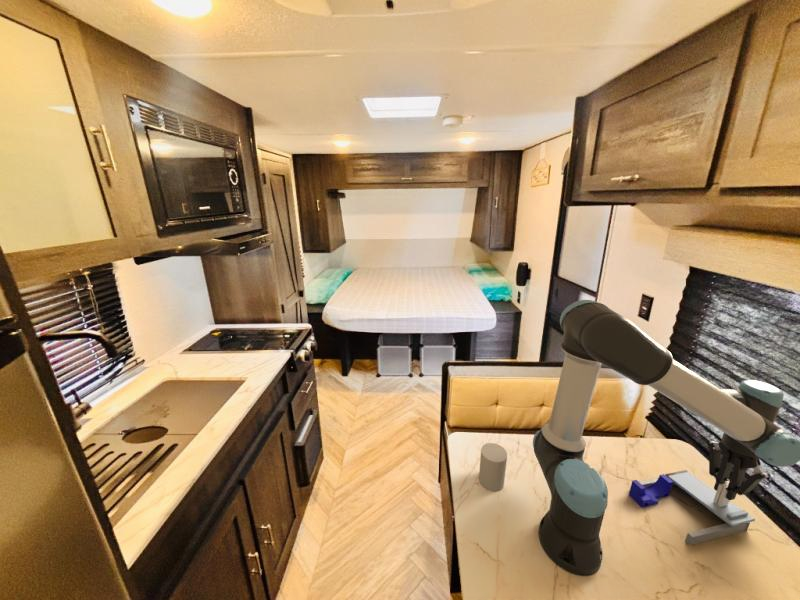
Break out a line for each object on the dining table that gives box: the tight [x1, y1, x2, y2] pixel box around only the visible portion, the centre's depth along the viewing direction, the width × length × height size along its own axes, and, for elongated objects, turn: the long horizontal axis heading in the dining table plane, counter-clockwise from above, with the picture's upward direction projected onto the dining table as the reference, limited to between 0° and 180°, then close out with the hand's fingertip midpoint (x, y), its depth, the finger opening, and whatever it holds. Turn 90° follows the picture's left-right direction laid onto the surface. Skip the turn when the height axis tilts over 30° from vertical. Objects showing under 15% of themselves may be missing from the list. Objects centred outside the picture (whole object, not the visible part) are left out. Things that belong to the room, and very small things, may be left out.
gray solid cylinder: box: [478, 442, 508, 493], centre depth 101 cm, size 8×8×12 cm
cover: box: [664, 469, 756, 527], centre depth 93 cm, size 8×18×2 cm, turn 11°
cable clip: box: [628, 473, 674, 509], centre depth 96 cm, size 12×4×6 cm, turn 101°
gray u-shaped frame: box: [638, 477, 751, 546], centre depth 93 cm, size 20×17×3 cm
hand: (720, 503), depth 89 cm, fingers closed
